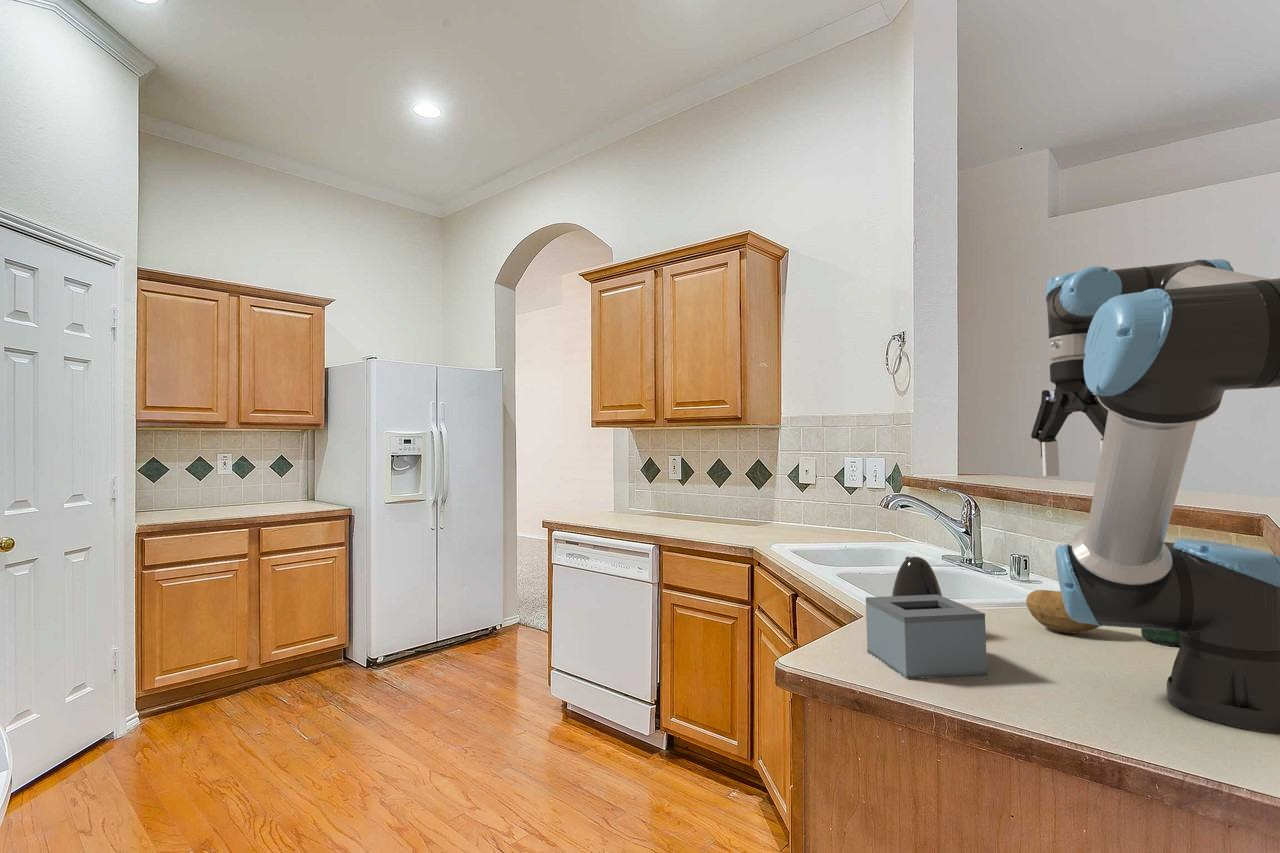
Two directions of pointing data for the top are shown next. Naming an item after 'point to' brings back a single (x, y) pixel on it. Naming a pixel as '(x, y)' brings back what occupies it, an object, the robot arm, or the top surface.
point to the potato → (1054, 612)
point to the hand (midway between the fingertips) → (1079, 477)
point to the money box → (926, 636)
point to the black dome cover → (916, 579)
